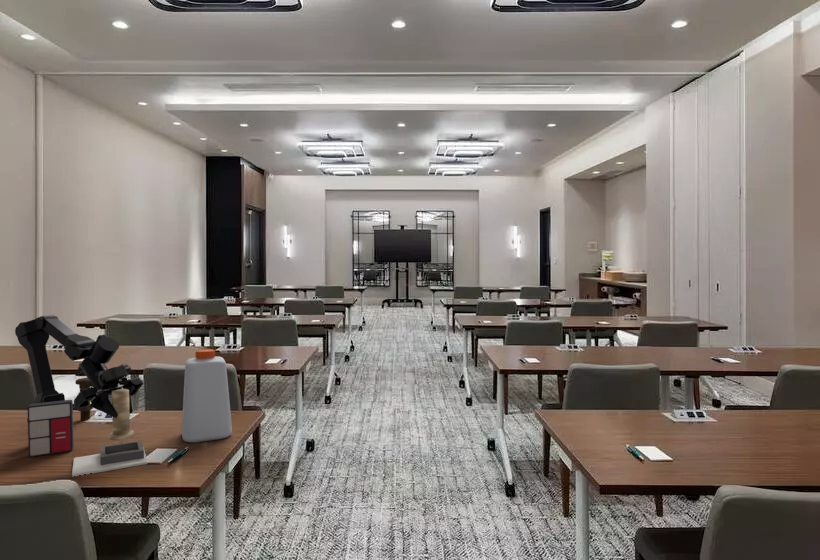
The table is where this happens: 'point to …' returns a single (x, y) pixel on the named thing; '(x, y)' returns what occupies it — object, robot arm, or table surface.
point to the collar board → (111, 458)
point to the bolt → (86, 410)
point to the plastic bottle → (206, 398)
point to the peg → (121, 416)
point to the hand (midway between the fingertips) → (124, 414)
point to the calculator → (50, 427)
